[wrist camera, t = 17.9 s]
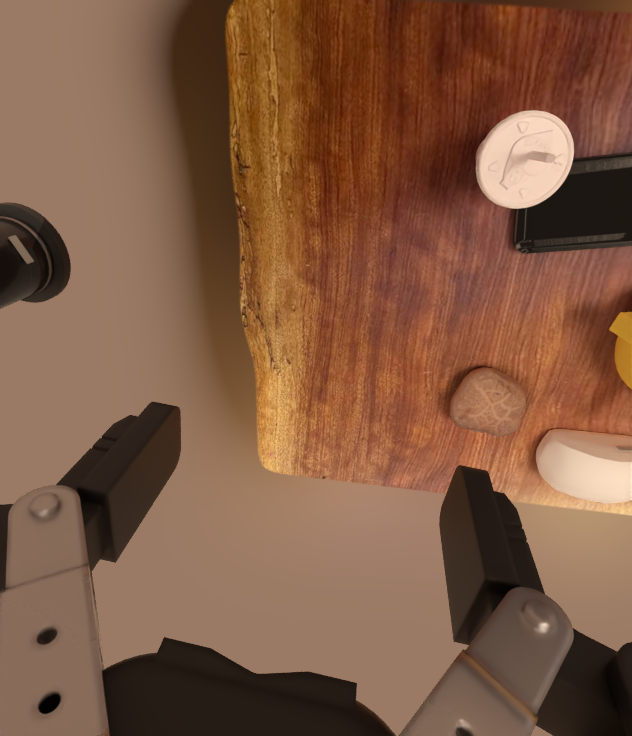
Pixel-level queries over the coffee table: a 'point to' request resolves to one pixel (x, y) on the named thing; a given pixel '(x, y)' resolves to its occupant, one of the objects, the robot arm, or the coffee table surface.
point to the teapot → (623, 346)
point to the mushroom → (488, 402)
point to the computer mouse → (587, 464)
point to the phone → (581, 209)
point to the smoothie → (524, 159)
